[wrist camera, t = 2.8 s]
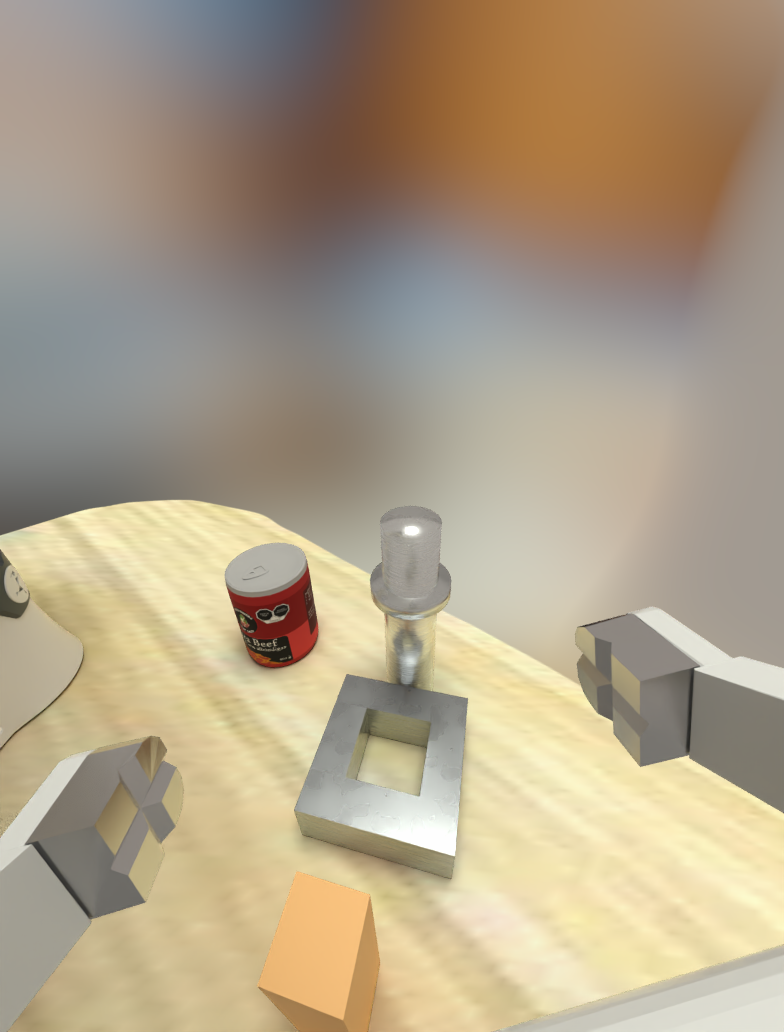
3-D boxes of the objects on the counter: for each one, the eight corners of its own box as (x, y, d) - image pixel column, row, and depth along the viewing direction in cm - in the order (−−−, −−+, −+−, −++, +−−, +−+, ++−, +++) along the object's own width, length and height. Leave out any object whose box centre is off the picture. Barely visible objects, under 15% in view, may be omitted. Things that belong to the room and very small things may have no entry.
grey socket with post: (451, 879, 27) (479, 705, 16) (302, 834, 29) (242, 656, 18) (468, 674, 40) (490, 507, 30) (366, 655, 42) (352, 493, 32)
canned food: (233, 650, 43) (206, 574, 38) (286, 606, 49) (270, 533, 43) (282, 682, 40) (261, 604, 34) (333, 630, 46) (322, 555, 40)
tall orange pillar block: (363, 1058, 21) (343, 1020, 14) (301, 1033, 21) (257, 986, 15) (380, 962, 24) (369, 894, 17) (325, 942, 24) (296, 871, 18)
